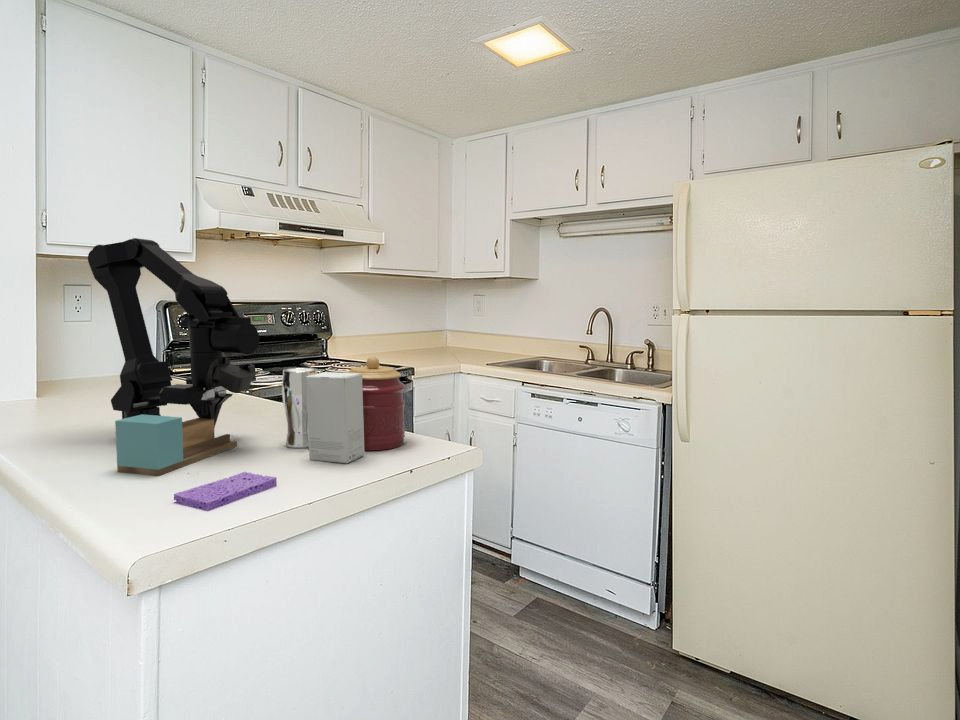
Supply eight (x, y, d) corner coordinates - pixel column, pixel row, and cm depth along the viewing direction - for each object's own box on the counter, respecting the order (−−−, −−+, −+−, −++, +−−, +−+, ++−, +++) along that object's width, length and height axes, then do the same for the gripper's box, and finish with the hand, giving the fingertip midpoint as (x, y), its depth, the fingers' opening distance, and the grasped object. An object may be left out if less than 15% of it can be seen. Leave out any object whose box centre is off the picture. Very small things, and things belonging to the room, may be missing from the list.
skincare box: (365, 456, 107) (365, 373, 106) (345, 465, 101) (345, 377, 100) (326, 451, 110) (326, 370, 108) (305, 460, 104) (304, 374, 102)
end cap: (117, 465, 95) (115, 420, 94) (143, 457, 100) (142, 414, 99) (158, 469, 93) (156, 424, 92) (183, 460, 98) (181, 417, 97)
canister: (334, 438, 120) (334, 354, 118) (395, 434, 125) (396, 353, 123) (346, 454, 108) (345, 361, 106) (412, 448, 113) (413, 359, 112)
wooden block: (139, 463, 96) (137, 434, 96) (198, 443, 110) (197, 417, 109) (157, 465, 95) (156, 435, 95) (214, 445, 109) (214, 419, 108)
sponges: (277, 488, 89) (277, 477, 89) (207, 514, 78) (206, 501, 78) (245, 482, 93) (244, 470, 92) (173, 506, 81) (172, 493, 81)
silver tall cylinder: (310, 449, 111) (309, 372, 109) (276, 447, 112) (275, 371, 110) (325, 441, 118) (324, 368, 116) (293, 439, 119) (291, 367, 117)
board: (117, 471, 95) (116, 456, 94) (201, 443, 114) (201, 430, 114) (158, 475, 93) (158, 460, 93) (237, 446, 112) (236, 433, 112)
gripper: (210, 359, 98) (214, 448, 100) (273, 348, 116) (275, 423, 118) (155, 356, 100) (159, 443, 102) (224, 345, 118) (227, 420, 120)
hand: (210, 431), depth 111 cm, fingers closed
